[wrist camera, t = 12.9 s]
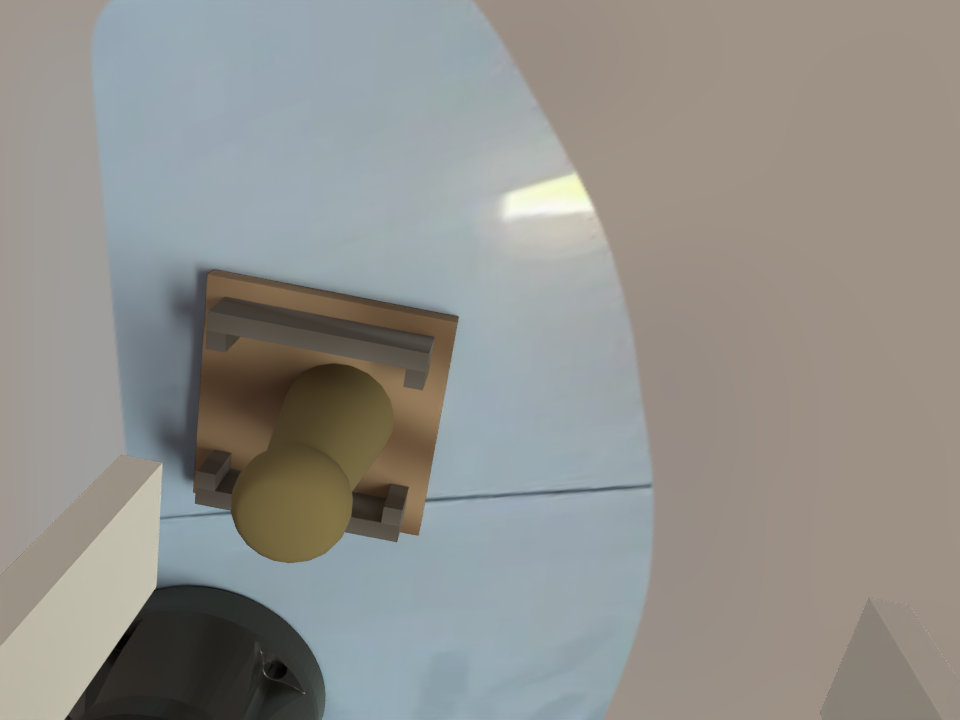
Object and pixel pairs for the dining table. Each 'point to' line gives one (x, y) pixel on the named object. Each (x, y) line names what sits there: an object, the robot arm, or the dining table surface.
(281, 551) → the cork
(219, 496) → the socket
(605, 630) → the dining table surface
